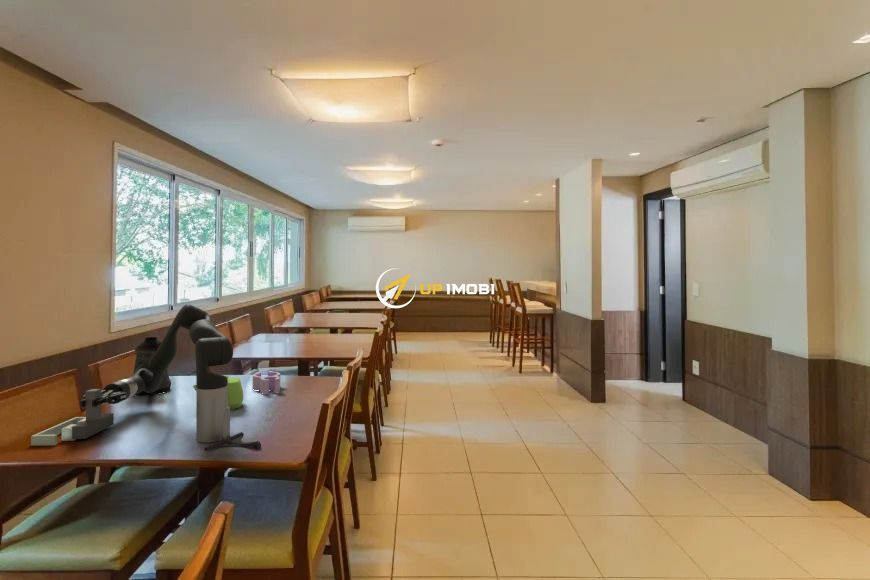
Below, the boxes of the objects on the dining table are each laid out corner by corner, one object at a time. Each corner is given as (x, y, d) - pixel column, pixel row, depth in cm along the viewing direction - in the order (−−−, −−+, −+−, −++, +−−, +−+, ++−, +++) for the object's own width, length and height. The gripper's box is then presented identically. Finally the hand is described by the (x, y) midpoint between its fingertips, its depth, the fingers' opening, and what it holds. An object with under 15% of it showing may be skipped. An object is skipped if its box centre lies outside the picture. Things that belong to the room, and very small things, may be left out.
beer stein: (143, 387, 214) (143, 335, 213) (184, 387, 214) (184, 335, 214) (120, 396, 197) (119, 339, 197) (164, 396, 198) (164, 340, 197)
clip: (285, 393, 207) (286, 378, 206) (257, 396, 200) (257, 381, 200) (276, 384, 224) (276, 370, 224) (250, 386, 217) (250, 372, 217)
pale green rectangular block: (96, 425, 159) (96, 416, 159) (54, 445, 140) (54, 435, 140) (75, 425, 158) (75, 417, 158) (31, 445, 139) (31, 436, 139)
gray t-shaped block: (113, 424, 157) (113, 384, 157) (85, 438, 143) (84, 395, 143) (101, 424, 157) (101, 385, 156) (72, 439, 143) (71, 395, 142)
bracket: (242, 459, 132) (242, 450, 132) (204, 452, 138) (204, 443, 138) (275, 443, 146) (275, 434, 146) (239, 437, 151) (240, 428, 151)
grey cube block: (83, 436, 148) (83, 424, 148) (74, 440, 144) (74, 428, 144) (71, 436, 148) (70, 424, 148) (61, 440, 144) (61, 428, 144)
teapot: (189, 417, 169) (189, 383, 169) (196, 403, 188) (196, 372, 187) (242, 412, 176) (242, 379, 175) (244, 399, 194) (244, 369, 194)
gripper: (100, 380, 163) (64, 392, 146) (140, 380, 164) (109, 392, 147) (100, 400, 164) (64, 415, 146) (140, 400, 165) (109, 415, 147)
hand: (87, 403), depth 147 cm, fingers closed on gray t-shaped block, 3 cm apart
